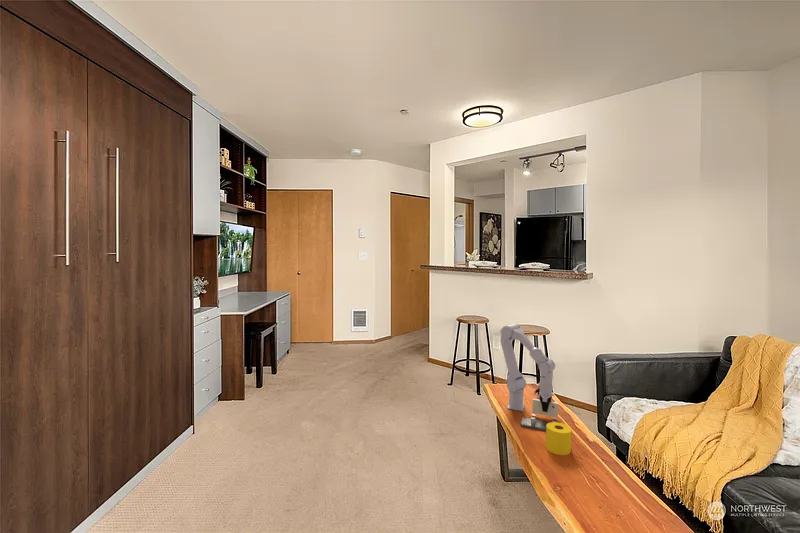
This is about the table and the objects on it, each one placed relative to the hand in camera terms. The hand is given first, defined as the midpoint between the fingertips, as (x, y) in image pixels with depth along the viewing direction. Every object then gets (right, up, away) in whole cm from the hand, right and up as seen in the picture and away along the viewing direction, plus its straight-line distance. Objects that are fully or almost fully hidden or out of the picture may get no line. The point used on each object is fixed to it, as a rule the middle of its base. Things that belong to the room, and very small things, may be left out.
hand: (545, 410), depth 201 cm
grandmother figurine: (+3, -3, +15) cm, 16 cm away
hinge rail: (-4, -4, -10) cm, 12 cm away
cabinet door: (0, -2, 0) cm, 2 cm away
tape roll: (-5, -6, -30) cm, 31 cm away
